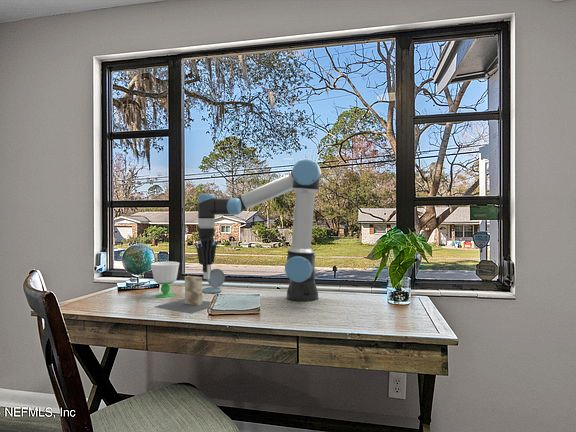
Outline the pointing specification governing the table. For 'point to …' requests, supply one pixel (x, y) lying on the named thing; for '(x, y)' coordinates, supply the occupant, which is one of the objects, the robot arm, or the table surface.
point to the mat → (184, 306)
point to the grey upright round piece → (214, 282)
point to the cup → (165, 276)
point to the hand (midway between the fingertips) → (206, 278)
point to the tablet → (193, 290)
